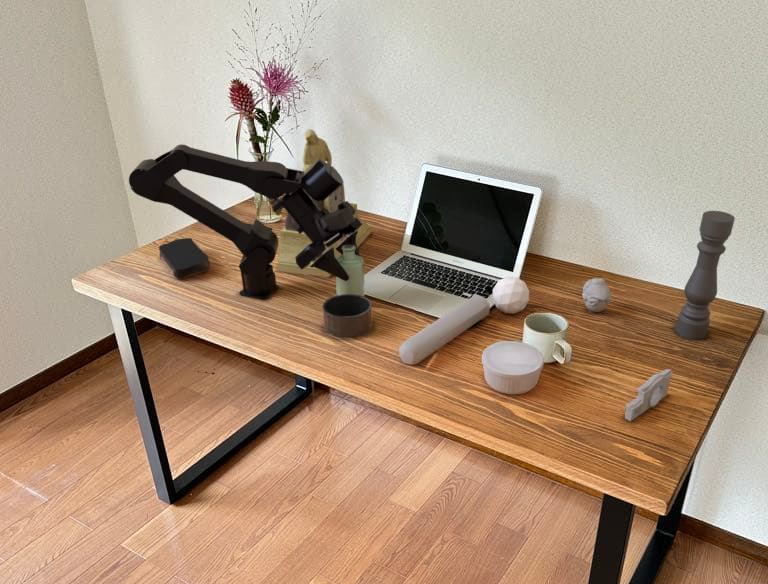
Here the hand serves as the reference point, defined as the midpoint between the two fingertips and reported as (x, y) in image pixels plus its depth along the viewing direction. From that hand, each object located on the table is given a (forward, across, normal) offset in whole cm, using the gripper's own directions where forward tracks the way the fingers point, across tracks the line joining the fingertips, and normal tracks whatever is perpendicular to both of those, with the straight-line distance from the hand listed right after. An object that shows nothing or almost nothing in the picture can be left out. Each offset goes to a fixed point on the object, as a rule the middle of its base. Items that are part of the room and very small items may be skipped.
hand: (355, 274), depth 154 cm
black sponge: (-27, -2, +37) cm, 46 cm away
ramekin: (+33, -14, -23) cm, 43 cm away
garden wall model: (+50, -11, -40) cm, 65 cm away
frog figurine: (+38, +20, -28) cm, 52 cm away
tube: (+22, -6, -12) cm, 25 cm away
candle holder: (+52, +20, -43) cm, 70 cm away
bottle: (+3, 0, +5) cm, 6 cm away
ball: (+27, +12, -17) cm, 34 cm away
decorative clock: (-9, +20, +19) cm, 30 cm away
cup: (+8, -10, +2) cm, 12 cm away
